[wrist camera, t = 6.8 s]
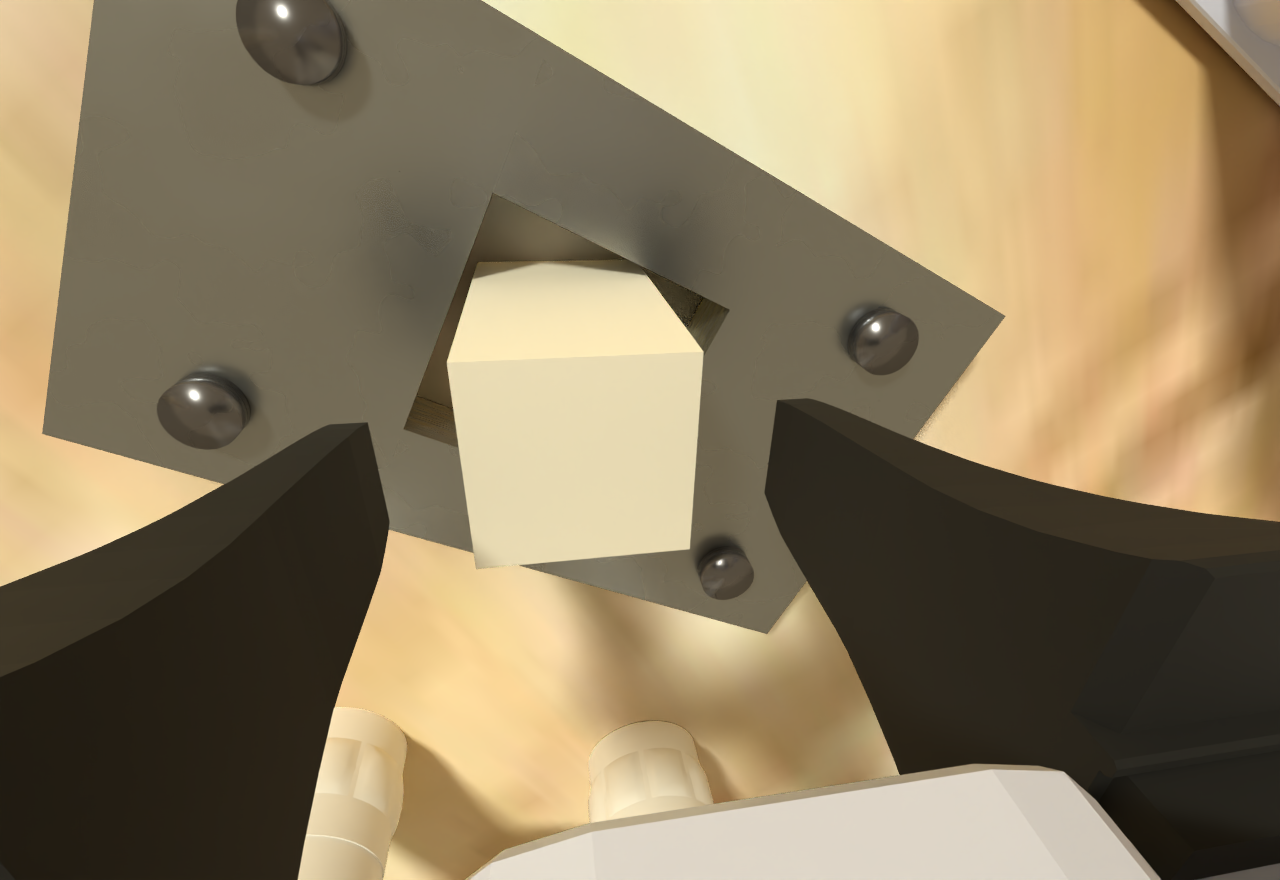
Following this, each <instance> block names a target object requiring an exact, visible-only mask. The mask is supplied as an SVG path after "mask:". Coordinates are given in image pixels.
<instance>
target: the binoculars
mask: <svg viewBox="0 0 1280 880" xmlns="http://www.w3.org/2000/svg"><path fill="white" fill-rule="evenodd" d="M406 754H407V741H406V738H405V735H404V734H403V732H402V731H401V729H400V728H399V727H398V726H397V725H396V724H395V723H394V722H393V721H391V720H389V719H388V718H386V717H384V716H383V715H380V714H377V713H375V712H372V711H369V710H364V709H360V708H352V707H334V710H333V714H332V718H331V723H330V727H329V731H328V736H327V740H326V744H325V749H324V753H323V757H322V762H321V766H320V770H319V775H318V780H317V784H316V789H315V794H314V799H313V804H312V809H311V813H310V818H309V823H308V828H307V833H306V838H305V842H304V848H303V853H302V859H301V864H300V870H299V875H298V880H383V877H384V873H385V867H386V862H387V856H388V851H389V846H390V840H391V839H392V837H393V835H394V833H395V831H396V829H397V826H398V823H399V819H400V814H401V810H402V804H403V796H404V784H403V777H402V775H403V770H404V765H405V759H406ZM588 768H589V778H590V794H589V799H588V809H589V820H590V823H593V822H600V821H606V820H613V819H619V818H626V817H632V816H639V815H645V814H652V813H658V812H665V811H671V810H678V809H684V808H691V807H697V806H703V805H710V804H714V801H713V797H712V794H711V790H710V786H709V783H708V779H707V775H706V773H705V772H704V770H703V768H702V767H701V765H700V763H699V759H698V755H697V751H696V748H695V744H694V740H693V738H692V736H691V735H690V733H689V732H687V731H686V730H685V729H684V728H682V727H680V726H678V725H676V724H673V723H669V722H663V721H644V722H638V723H633V724H630V725H627V726H624V727H621V728H619V729H617V730H615V731H613V732H611V733H610V734H608V735H607V736H605V737H604V738H603V739H602V740H601V741H599V742H598V743H597V745H596V746H595V747H594V748H593V750H592V752H591V754H590V756H589V761H588Z"/></svg>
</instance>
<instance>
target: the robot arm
mask: <svg viewBox="0 0 1280 880" xmlns="http://www.w3.org/2000/svg"><path fill="white" fill-rule="evenodd" d="M1176 1H1177V2H1178V3H1179V4H1180V6H1181V7H1182V8H1183V9H1184V10H1185V11H1186V12H1187V13H1188V14H1189V15H1190V16H1191V17H1192V18H1193V19H1194V20H1195V21H1196V22H1197V23H1198V24H1199V25H1200V26H1201V27H1202V28H1203V29H1204V30H1205V31H1206V32H1207V33H1208V34H1209V35H1210V36H1211V37H1212V38H1213V39H1214V40H1215V41H1216V42H1217V43H1218V44H1219V45H1220V46H1221V47H1222V48H1223V49H1224V50H1225V51H1226V52H1227V53H1228V54H1229V55H1230V56H1231V57H1232V58H1233V59H1234V60H1235V61H1236V62H1237V64H1238V65H1239V66H1240V67H1241V68H1242V69H1243V70H1244V71H1245V72H1246V73H1247V74H1248V75H1249V76H1250V77H1251V78H1252V79H1253V80H1254V81H1255V82H1256V83H1257V84H1258V85H1259V86H1260V87H1261V88H1262V89H1263V90H1264V91H1265V92H1266V93H1267V94H1268V95H1269V96H1270V97H1271V98H1272V99H1273V100H1274V101H1275V102H1276V103H1277V104H1278V105H1279V106H1280V0H1176ZM764 493H765V496H766V499H767V501H768V504H769V507H770V510H771V512H772V515H773V517H774V520H775V522H776V525H777V527H778V529H779V532H780V534H781V536H782V538H783V540H784V542H785V543H786V545H787V547H788V549H789V550H790V552H791V554H792V556H793V557H794V559H795V561H796V563H797V564H798V566H799V568H800V570H801V571H802V573H803V575H804V576H805V578H806V580H807V581H808V583H809V585H810V586H811V588H812V590H813V591H814V593H815V595H816V597H817V598H818V600H819V602H820V603H821V605H822V607H823V608H824V610H825V612H826V613H827V615H828V617H829V618H830V620H831V622H832V624H833V625H834V627H835V629H836V631H837V632H838V634H839V636H840V638H841V640H842V642H843V644H844V646H845V647H846V649H847V651H848V653H849V656H850V658H851V660H852V662H853V665H854V667H855V669H856V671H857V674H858V676H859V678H860V680H861V682H862V685H863V687H864V689H865V691H866V694H867V696H868V698H869V700H870V703H871V705H872V707H873V710H874V712H875V715H876V717H877V720H878V722H879V724H880V727H881V729H882V732H883V734H884V736H885V739H886V741H887V744H888V746H889V748H890V751H891V753H892V756H893V758H894V761H895V764H896V766H897V769H898V771H899V774H900V775H898V776H892V777H885V778H879V779H872V780H866V781H859V782H853V783H846V784H840V785H833V786H827V787H820V788H814V789H807V790H801V791H794V792H788V793H781V794H775V795H768V796H762V797H755V798H749V799H742V800H736V801H729V802H723V803H716V804H710V805H703V806H697V807H691V808H684V809H678V810H671V811H665V812H658V813H652V814H645V815H639V816H632V817H626V818H619V819H613V820H606V821H600V822H593V823H589V824H585V825H582V826H579V827H576V828H572V829H569V830H566V831H563V832H560V833H556V834H553V835H550V836H547V837H543V838H540V839H537V840H534V841H531V842H527V843H524V844H521V845H518V846H515V847H511V848H508V849H505V850H503V851H501V852H500V853H499V854H498V855H496V856H495V857H494V858H492V859H491V860H490V861H488V862H487V863H486V864H485V865H483V866H482V867H481V868H479V869H478V870H477V871H475V872H474V873H473V874H472V875H470V876H469V877H468V878H466V879H465V880H1280V522H1275V521H1266V520H1257V519H1248V518H1239V517H1230V516H1221V515H1212V514H1205V513H1198V512H1191V511H1185V510H1179V509H1172V508H1166V507H1160V506H1154V505H1147V504H1141V503H1136V502H1131V501H1125V500H1120V499H1115V498H1110V497H1105V496H1100V495H1095V494H1091V493H1087V492H1082V491H1078V490H1073V489H1069V488H1064V487H1060V486H1056V485H1051V484H1048V483H1044V482H1040V481H1036V480H1032V479H1028V478H1025V477H1021V476H1018V475H1015V474H1011V473H1008V472H1005V471H1001V470H998V469H995V468H991V467H988V466H984V465H981V464H978V463H975V462H972V461H969V460H966V459H963V458H961V457H958V456H955V455H953V454H950V453H947V452H945V451H942V450H939V449H936V448H934V447H931V446H928V445H926V444H923V443H921V442H918V441H916V440H913V439H911V438H908V437H906V436H904V435H901V434H899V433H896V432H894V431H892V430H889V429H887V428H885V427H882V426H880V425H878V424H875V423H873V422H871V421H868V420H866V419H863V418H861V417H859V416H856V415H854V414H852V413H849V412H847V411H845V410H842V409H840V408H837V407H834V406H832V405H829V404H826V403H824V402H820V401H817V400H813V399H809V398H804V399H786V400H777V403H776V411H775V418H774V425H773V433H772V440H771V447H770V455H769V462H768V469H767V477H766V484H765V491H764ZM389 524H390V520H389V516H388V511H387V507H386V502H385V497H384V493H383V488H382V484H381V479H380V475H379V470H378V466H377V461H376V457H375V452H374V448H373V443H372V439H371V434H370V430H369V425H368V422H363V423H345V424H329V425H327V426H324V427H322V428H320V429H318V430H316V431H314V432H312V433H310V434H308V435H307V436H305V437H303V438H301V439H300V440H298V441H296V442H295V443H293V444H291V445H290V446H288V447H286V448H285V449H283V450H281V451H280V452H278V453H277V454H275V455H273V456H272V457H270V458H268V459H267V460H265V461H263V462H262V463H260V464H258V465H257V466H255V467H253V468H252V469H250V470H248V471H247V472H245V473H243V474H242V475H240V476H238V477H237V478H235V479H233V480H231V481H230V482H228V483H226V484H224V485H222V486H221V487H219V488H217V489H215V490H213V491H212V492H210V493H208V494H206V495H204V496H203V497H201V498H199V499H197V500H195V501H194V502H192V503H190V504H188V505H186V506H185V507H183V508H181V509H179V510H177V511H175V512H173V513H172V514H170V515H168V516H166V517H164V518H162V519H160V520H158V521H156V522H154V523H151V524H149V525H147V526H145V527H143V528H141V529H139V530H137V531H135V532H132V533H130V534H128V535H126V536H124V537H122V538H119V539H117V540H115V541H113V542H111V543H108V544H106V545H104V546H102V547H99V548H97V549H95V550H92V551H90V552H88V553H85V554H83V555H81V556H78V557H75V558H73V559H70V560H68V561H65V562H63V563H60V564H57V565H55V566H52V567H50V568H47V569H45V570H42V571H40V572H37V573H34V574H32V575H29V576H27V577H24V578H22V579H19V580H16V581H14V582H11V583H9V584H6V585H4V586H1V587H0V880H298V875H299V870H300V864H301V859H302V853H303V848H304V842H305V838H306V833H307V828H308V823H309V818H310V813H311V809H312V804H313V799H314V794H315V789H316V784H317V780H318V775H319V770H320V766H321V762H322V757H323V753H324V749H325V744H326V740H327V736H328V731H329V727H330V723H331V718H332V714H333V710H334V707H335V704H336V700H337V697H338V694H339V690H340V687H341V684H342V681H343V678H344V675H345V673H346V670H347V667H348V664H349V661H350V658H351V656H352V653H353V650H354V647H355V644H356V642H357V639H358V636H359V633H360V630H361V627H362V625H363V622H364V619H365V616H366V613H367V610H368V608H369V605H370V602H371V599H372V596H373V593H374V590H375V587H376V584H377V581H378V578H379V575H380V572H381V568H382V563H383V558H384V553H385V548H386V542H387V536H388V530H389Z"/></svg>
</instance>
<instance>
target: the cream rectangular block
mask: <svg viewBox="0 0 1280 880" xmlns="http://www.w3.org/2000/svg"><path fill="white" fill-rule="evenodd" d="M703 353H704V352H703V350H702V349H701V348H700V346H699V345H698V344H697V342H696V341H695V340H694V338H693V337H692V335H691V334H690V333H689V331H688V330H687V329H686V327H685V326H684V325H683V323H682V322H681V321H680V319H679V318H678V317H677V315H676V314H675V312H674V311H673V310H672V308H671V307H670V306H669V304H668V303H667V302H666V300H665V299H664V298H663V296H662V295H661V294H660V292H659V291H658V289H657V288H656V287H655V285H654V284H653V283H652V281H651V280H650V279H649V277H648V276H647V275H646V273H645V272H644V271H643V269H642V268H641V267H640V265H638V264H636V263H634V262H632V261H630V260H628V259H624V260H568V261H512V262H478V263H477V266H476V269H475V272H474V276H473V279H472V282H471V285H470V289H469V292H468V295H467V298H466V302H465V305H464V308H463V311H462V315H461V318H460V321H459V324H458V328H457V331H456V334H455V337H454V341H453V344H452V347H451V350H450V353H449V357H448V360H447V369H448V376H449V383H450V390H451V397H452V404H453V411H454V418H455V425H456V432H457V439H458V446H459V453H460V460H461V467H462V474H463V481H464V488H465V495H466V502H467V509H468V516H469V523H470V530H471V537H472V544H473V551H474V558H475V565H476V569H482V568H493V567H504V566H514V565H525V564H536V563H547V562H557V561H568V560H579V559H590V558H600V557H611V556H622V555H633V554H643V553H654V552H665V551H675V550H686V549H690V538H691V524H692V510H693V495H694V481H695V467H696V453H697V438H698V424H699V410H700V396H701V381H702V367H703Z"/></svg>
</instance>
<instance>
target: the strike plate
mask: <svg viewBox="0 0 1280 880" xmlns="http://www.w3.org/2000/svg"><path fill="white" fill-rule="evenodd" d="M493 193H494V194H496V195H498V196H500V197H502V198H504V199H506V200H508V201H510V202H512V203H514V204H516V205H518V206H520V207H522V208H524V209H526V210H528V211H530V212H532V213H534V214H536V215H539V216H541V217H543V218H545V219H547V220H549V221H551V222H553V223H555V224H557V225H559V226H561V227H563V228H565V229H567V230H569V231H571V232H573V233H575V234H577V235H579V236H581V237H583V238H585V239H587V240H589V241H591V242H593V243H595V244H597V245H599V246H601V247H604V248H606V249H608V250H610V251H612V252H614V253H616V254H618V255H620V256H622V257H624V258H626V259H628V260H630V261H632V262H634V263H636V264H638V265H640V266H642V267H644V268H646V269H648V270H650V271H652V272H654V273H656V274H658V275H660V276H662V277H664V278H666V279H669V280H671V281H673V282H675V283H677V284H679V285H681V286H683V287H685V288H687V289H689V290H691V291H693V292H695V293H697V294H699V295H701V296H703V297H704V298H703V300H702V302H701V304H700V306H699V307H698V309H697V311H696V313H695V315H694V317H693V318H692V320H691V322H690V324H689V326H688V328H687V330H688V331H689V333H690V334H691V335H692V337H693V338H694V340H695V341H696V342H697V344H698V345H699V346H700V348H701V349H702V350H703V352H704V353H703V367H702V381H701V396H700V410H699V424H698V438H697V453H696V467H695V481H694V495H693V510H692V524H691V538H690V549H686V550H675V551H665V552H654V553H643V554H633V555H622V556H611V557H600V558H590V559H579V560H568V561H557V562H547V563H536V564H525V565H519V566H523V567H527V568H530V569H534V570H537V571H541V572H545V573H548V574H552V575H556V576H559V577H563V578H566V579H570V580H574V581H577V582H581V583H584V584H588V585H592V586H595V587H599V588H603V589H606V590H610V591H613V592H617V593H621V594H624V595H628V596H632V597H635V598H639V599H642V600H646V601H650V602H653V603H657V604H661V605H664V606H668V607H671V608H675V609H679V610H682V611H686V612H690V613H693V614H697V615H700V616H704V617H708V618H711V619H715V620H719V621H722V622H726V623H729V624H733V625H737V626H740V627H744V628H747V629H751V630H755V631H758V632H762V633H766V634H767V633H768V632H769V630H770V629H771V628H772V627H773V625H774V624H775V623H776V621H777V620H778V619H779V617H780V616H781V615H782V613H783V612H784V611H785V609H786V608H787V607H788V605H789V604H790V603H791V601H792V600H793V599H794V597H795V596H796V595H797V593H798V592H799V591H800V589H801V588H802V587H803V585H804V584H805V583H806V581H807V580H806V578H805V576H804V575H803V573H802V571H801V570H800V568H799V566H798V564H797V563H796V561H795V559H794V557H793V556H792V554H791V552H790V550H789V549H788V547H787V545H786V543H785V542H784V540H783V538H782V536H781V534H780V532H779V529H778V527H777V525H776V522H775V520H774V517H773V515H772V512H771V510H770V507H769V504H768V501H767V499H766V496H765V493H764V491H765V484H766V477H767V469H768V462H769V455H770V447H771V440H772V433H773V425H774V418H775V411H776V403H777V400H786V399H804V398H809V399H813V400H817V401H820V402H824V403H826V404H829V405H832V406H834V407H837V408H840V409H842V410H845V411H847V412H849V413H852V414H854V415H856V416H859V417H861V418H863V419H866V420H868V421H871V422H873V423H875V424H878V425H880V426H882V427H885V428H887V429H889V430H892V431H894V432H896V433H899V434H901V435H904V436H906V437H908V438H911V439H914V437H915V436H916V435H917V433H918V432H919V431H920V429H921V428H922V427H923V425H924V424H925V423H926V421H927V420H928V419H929V417H930V416H931V415H932V413H933V412H934V411H935V409H936V408H937V407H938V405H939V404H940V403H941V401H942V400H943V399H944V397H945V396H946V395H947V393H948V392H949V391H950V389H951V388H952V387H953V385H954V384H955V383H956V381H957V380H958V379H959V377H960V376H961V375H962V373H963V372H964V371H965V369H966V368H967V367H968V365H969V364H970V363H971V361H972V360H973V359H974V357H975V356H976V355H977V353H978V352H979V351H980V349H981V348H982V347H983V345H984V344H985V343H986V341H987V340H988V339H989V337H990V336H991V335H992V333H993V332H994V331H995V329H996V328H997V327H998V325H999V324H1000V323H1001V321H1002V320H1003V319H1004V317H1005V316H1004V315H1003V314H1001V313H999V312H998V311H996V310H995V309H993V308H991V307H990V306H988V305H986V304H985V303H983V302H981V301H980V300H978V299H976V298H975V297H973V296H971V295H970V294H968V293H966V292H965V291H963V290H961V289H960V288H958V287H956V286H955V285H953V284H951V283H950V282H948V281H946V280H945V279H943V278H941V277H940V276H938V275H936V274H935V273H933V272H931V271H930V270H928V269H926V268H925V267H923V266H921V265H920V264H918V263H916V262H915V261H913V260H911V259H910V258H908V257H907V256H905V255H903V254H902V253H900V252H898V251H897V250H895V249H893V248H892V247H890V246H888V245H887V244H885V243H883V242H882V241H880V240H878V239H877V238H875V237H873V236H872V235H870V234H868V233H867V232H865V231H863V230H862V229H860V228H858V227H857V226H855V225H853V224H852V223H850V222H848V221H847V220H845V219H843V218H842V217H840V216H838V215H837V214H835V213H833V212H832V211H830V210H828V209H827V208H825V207H823V206H822V205H820V204H819V203H817V202H815V201H814V200H812V199H810V198H809V197H807V196H805V195H804V194H802V193H800V192H799V191H797V190H795V189H794V188H792V187H790V186H789V185H787V184H785V183H784V182H782V181H780V180H779V179H777V178H775V177H774V176H772V175H770V174H769V173H767V172H765V171H764V170H762V169H760V168H759V167H757V166H755V165H754V164H752V163H750V162H749V161H747V160H745V159H744V158H742V157H740V156H739V155H737V154H735V153H734V152H732V151H731V150H729V149H727V148H726V147H724V146H722V145H721V144H719V143H717V142H716V141H714V140H712V139H711V138H709V137H707V136H706V135H704V134H702V133H701V132H699V131H697V130H696V129H694V128H692V127H691V126H689V125H687V124H686V123H684V122H682V121H681V120H679V119H677V118H676V117H674V116H672V115H671V114H669V113H667V112H666V111H664V110H662V109H661V108H659V107H657V106H656V105H654V104H652V103H651V102H649V101H647V100H646V99H644V98H643V97H641V96H639V95H638V94H636V93H634V92H633V91H631V90H629V89H628V88H626V87H624V86H623V85H621V84H619V83H618V82H616V81H614V80H613V79H611V78H609V77H608V76H606V75H604V74H603V73H601V72H599V71H598V70H596V69H594V68H593V67H591V66H589V65H588V64H586V63H584V62H583V61H581V60H579V59H578V58H576V57H574V56H573V55H571V54H569V53H568V52H566V51H564V50H563V49H561V48H559V47H558V46H556V45H554V44H553V43H551V42H550V41H548V40H546V39H545V38H543V37H541V36H540V35H538V34H536V33H535V32H533V31H531V30H530V29H528V28H526V27H525V26H523V25H521V24H520V23H518V22H516V21H515V20H513V19H511V18H510V17H508V16H506V15H505V14H503V13H501V12H500V11H498V10H496V9H495V8H493V7H491V6H490V5H488V4H486V3H485V2H483V1H481V0H94V5H93V14H92V22H91V30H90V39H89V47H88V55H87V64H86V72H85V80H84V89H83V97H82V106H81V114H80V122H79V131H78V139H77V147H76V156H75V164H74V173H73V181H72V189H71V198H70V206H69V214H68V223H67V231H66V240H65V248H64V256H63V265H62V273H61V281H60V290H59V298H58V307H57V315H56V323H55V332H54V340H53V348H52V357H51V365H50V374H49V382H48V390H47V399H46V407H45V415H44V424H43V432H42V434H45V435H48V436H52V437H56V438H59V439H63V440H66V441H70V442H74V443H77V444H81V445H85V446H88V447H92V448H95V449H99V450H103V451H106V452H110V453H114V454H117V455H121V456H124V457H128V458H132V459H135V460H139V461H143V462H146V463H150V464H153V465H157V466H161V467H164V468H168V469H172V470H175V471H179V472H182V473H186V474H190V475H193V476H197V477H201V478H204V479H208V480H211V481H215V482H219V483H222V484H226V483H228V482H230V481H231V480H233V479H235V478H237V477H238V476H240V475H242V474H243V473H245V472H247V471H248V470H250V469H252V468H253V467H255V466H257V465H258V464H260V463H262V462H263V461H265V460H267V459H268V458H270V457H272V456H273V455H275V454H277V453H278V452H280V451H281V450H283V449H285V448H286V447H288V446H290V445H291V444H293V443H295V442H296V441H298V440H300V439H301V438H303V437H305V436H307V435H308V434H310V433H312V432H314V431H316V430H318V429H320V428H322V427H324V426H327V425H329V424H345V423H363V422H368V425H369V430H370V434H371V439H372V443H373V448H374V452H375V457H376V461H377V466H378V470H379V475H380V479H381V484H382V488H383V493H384V497H385V502H386V507H387V511H388V516H389V520H390V524H389V530H393V531H396V532H400V533H403V534H407V535H411V536H414V537H418V538H421V539H425V540H429V541H432V542H436V543H440V544H443V545H447V546H450V547H454V548H458V549H461V550H465V551H469V552H472V553H474V551H473V544H472V537H471V530H470V523H469V516H468V509H467V502H466V495H465V488H464V481H463V474H462V467H461V460H460V453H459V446H458V439H457V432H456V425H455V418H454V411H453V409H451V408H449V407H446V406H443V405H440V404H437V403H435V402H432V401H429V400H426V399H423V398H420V397H418V396H416V395H417V392H418V389H419V387H420V384H421V381H422V379H423V376H424V373H425V371H426V368H427V366H428V363H429V360H430V358H431V355H432V352H433V350H434V347H435V344H436V342H437V339H438V336H439V334H440V331H441V329H442V326H443V323H444V321H445V318H446V315H447V313H448V310H449V307H450V305H451V302H452V299H453V297H454V294H455V292H456V289H457V286H458V284H459V281H460V278H461V276H462V273H463V270H464V268H465V265H466V263H467V260H468V257H469V255H470V252H471V249H472V247H473V244H474V241H475V239H476V236H477V233H478V231H479V228H480V226H481V223H482V220H483V218H484V215H485V212H486V210H487V207H488V204H489V202H490V199H491V196H492V194H493Z"/></svg>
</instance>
